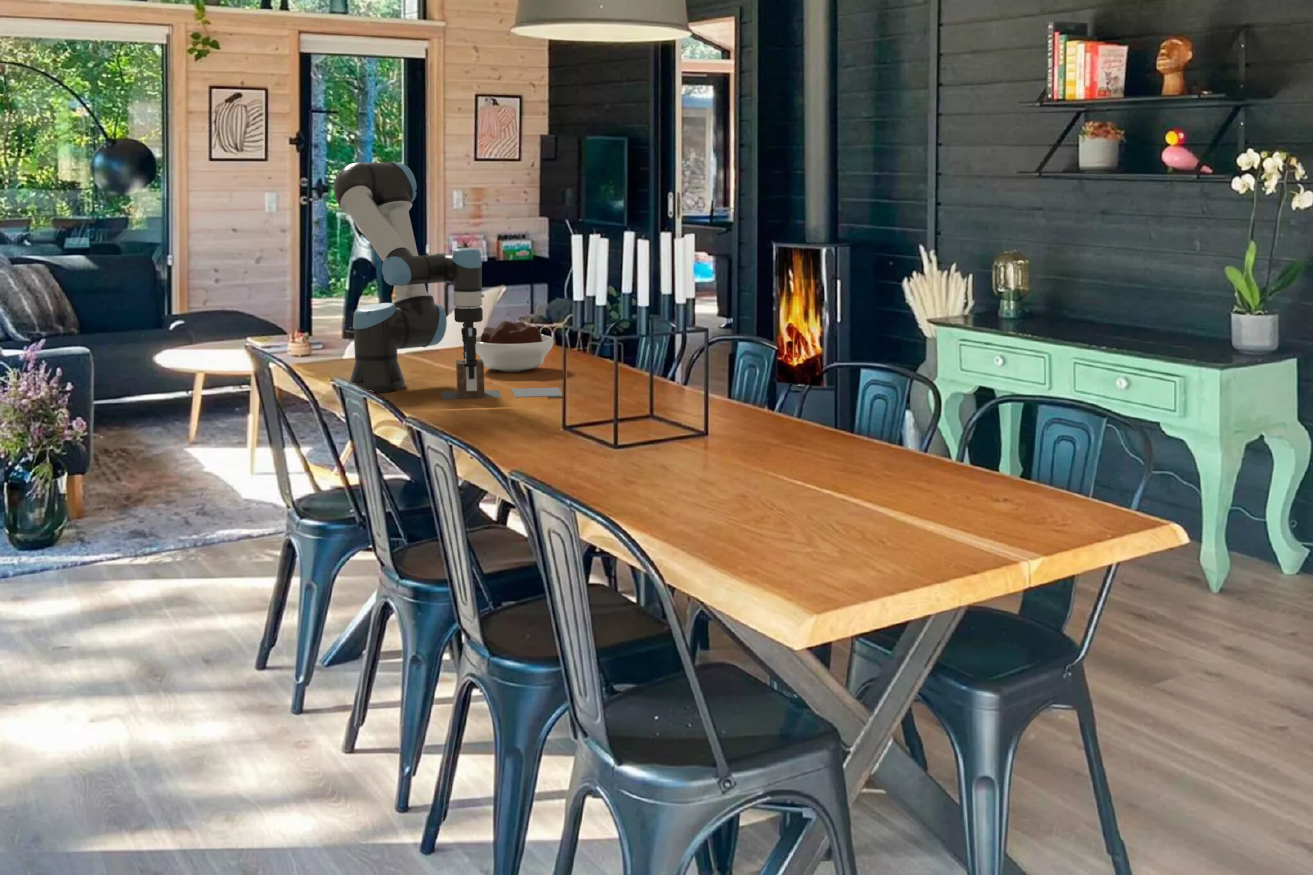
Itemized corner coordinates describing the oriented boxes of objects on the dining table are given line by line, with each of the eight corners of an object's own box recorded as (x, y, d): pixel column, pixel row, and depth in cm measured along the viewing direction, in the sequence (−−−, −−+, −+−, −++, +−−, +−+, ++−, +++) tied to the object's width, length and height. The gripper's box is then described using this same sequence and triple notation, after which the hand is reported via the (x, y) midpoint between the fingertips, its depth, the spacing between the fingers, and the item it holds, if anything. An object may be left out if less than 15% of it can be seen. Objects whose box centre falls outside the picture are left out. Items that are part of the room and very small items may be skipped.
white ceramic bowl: (492, 362, 444) (491, 314, 441) (566, 365, 436) (565, 317, 433) (457, 374, 421) (455, 323, 418) (534, 378, 413) (533, 326, 410)
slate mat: (515, 399, 378) (515, 396, 378) (511, 391, 391) (511, 388, 391) (563, 397, 381) (563, 395, 380) (558, 389, 393) (558, 387, 393)
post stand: (441, 401, 375) (440, 356, 373) (440, 393, 387) (438, 350, 384) (502, 399, 378) (501, 354, 376) (498, 391, 390) (497, 348, 387)
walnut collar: (458, 397, 378) (457, 363, 377) (457, 392, 385) (456, 360, 383) (484, 396, 380) (483, 363, 378) (482, 391, 386) (482, 359, 385)
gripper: (485, 311, 367) (487, 393, 371) (479, 301, 390) (481, 379, 394) (456, 312, 365) (458, 394, 370) (452, 302, 389) (454, 380, 393)
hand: (470, 386), depth 382 cm, fingers open, 12 cm apart
